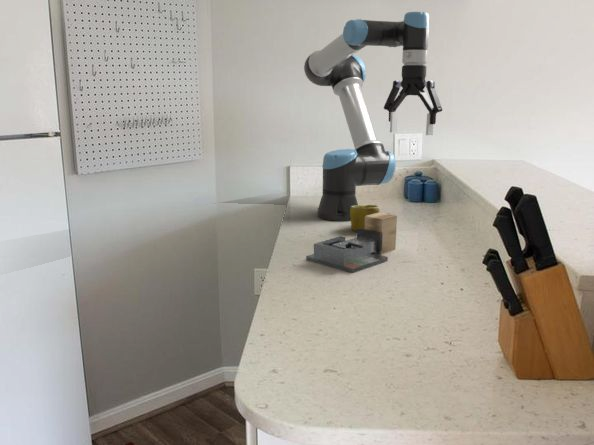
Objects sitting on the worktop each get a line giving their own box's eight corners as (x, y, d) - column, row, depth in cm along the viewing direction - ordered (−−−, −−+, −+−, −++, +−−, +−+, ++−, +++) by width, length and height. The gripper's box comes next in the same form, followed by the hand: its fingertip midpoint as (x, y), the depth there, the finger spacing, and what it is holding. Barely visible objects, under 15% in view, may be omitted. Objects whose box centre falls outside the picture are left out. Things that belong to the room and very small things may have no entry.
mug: (383, 230, 184) (375, 199, 184) (351, 238, 186) (343, 207, 187) (387, 228, 196) (379, 199, 196) (357, 235, 198) (350, 207, 199)
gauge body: (306, 259, 159) (306, 241, 158) (342, 248, 170) (342, 231, 169) (352, 273, 148) (352, 253, 147) (387, 260, 159) (388, 242, 158)
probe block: (363, 249, 169) (364, 215, 167) (378, 245, 174) (379, 212, 171) (380, 254, 165) (382, 219, 163) (395, 249, 170) (396, 215, 167)
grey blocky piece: (328, 254, 159) (328, 236, 158) (359, 245, 169) (359, 227, 167) (359, 263, 152) (360, 243, 151) (390, 253, 161) (390, 234, 160)
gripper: (374, 65, 189) (372, 131, 194) (443, 63, 172) (438, 137, 177) (388, 65, 194) (385, 130, 199) (456, 64, 177) (451, 135, 182)
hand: (410, 133), depth 188 cm, fingers open, 13 cm apart
